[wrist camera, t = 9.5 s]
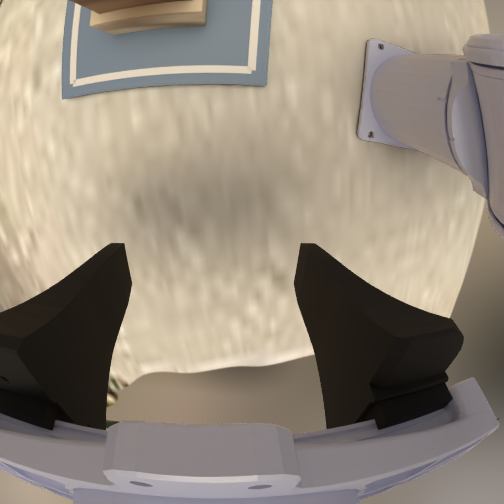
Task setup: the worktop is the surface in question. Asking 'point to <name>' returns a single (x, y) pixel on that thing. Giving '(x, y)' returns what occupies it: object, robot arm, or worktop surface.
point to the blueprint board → (168, 51)
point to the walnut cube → (116, 4)
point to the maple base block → (152, 17)
